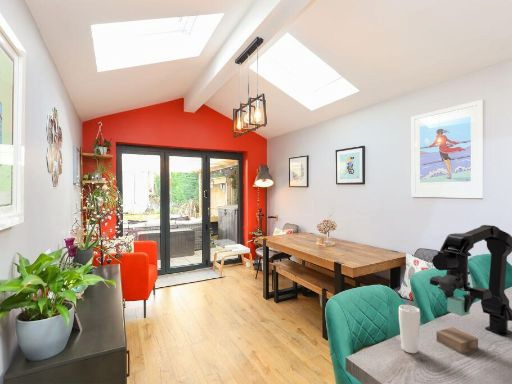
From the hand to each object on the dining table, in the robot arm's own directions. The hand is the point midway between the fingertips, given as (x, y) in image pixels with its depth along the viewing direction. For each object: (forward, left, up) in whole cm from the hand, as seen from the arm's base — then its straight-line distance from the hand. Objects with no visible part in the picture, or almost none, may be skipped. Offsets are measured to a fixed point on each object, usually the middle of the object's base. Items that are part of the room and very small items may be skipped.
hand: (458, 309), depth 104 cm
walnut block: (+2, +1, -13) cm, 13 cm away
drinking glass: (+21, -4, -13) cm, 25 cm away
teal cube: (0, 0, -1) cm, 1 cm away
